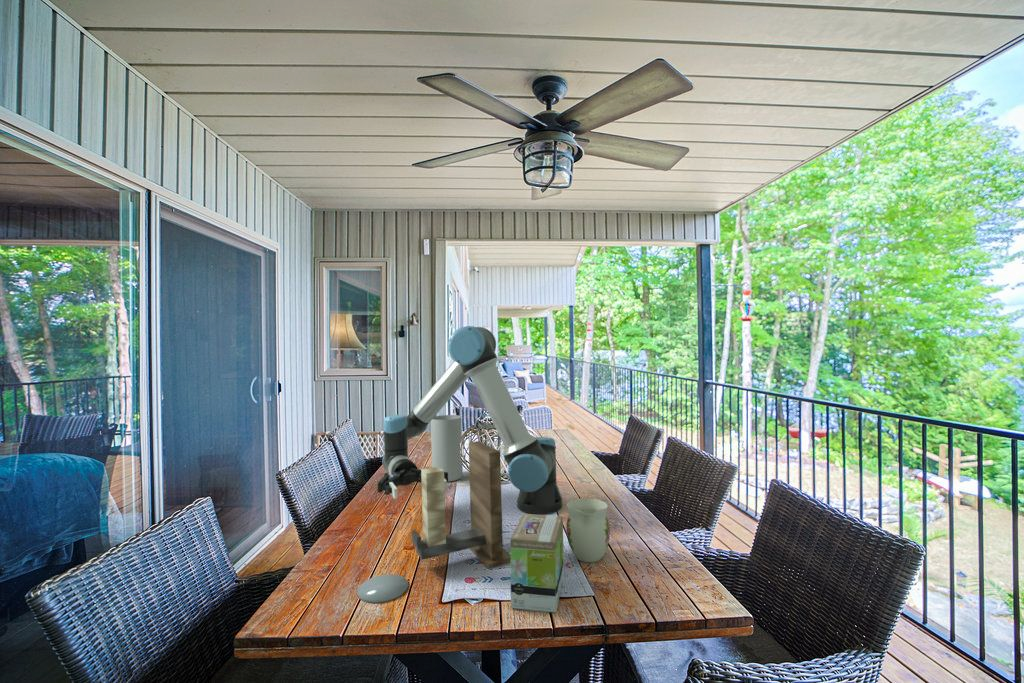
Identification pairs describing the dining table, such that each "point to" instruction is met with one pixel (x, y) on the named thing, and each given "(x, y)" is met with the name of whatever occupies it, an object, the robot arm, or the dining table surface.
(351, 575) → the dining table surface
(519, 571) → the tea box
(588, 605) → the dining table surface
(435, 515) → the cedar rail
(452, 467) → the cylinder vase
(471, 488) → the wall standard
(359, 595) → the slate coaster
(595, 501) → the pitcher
